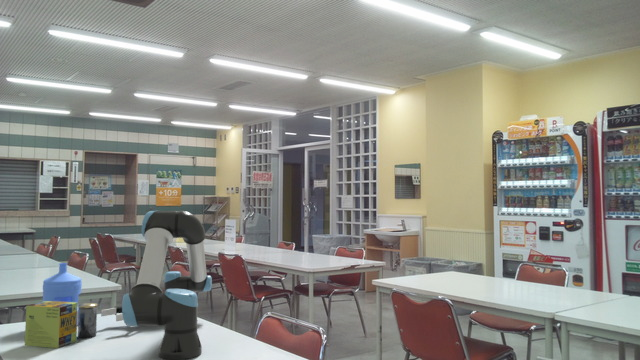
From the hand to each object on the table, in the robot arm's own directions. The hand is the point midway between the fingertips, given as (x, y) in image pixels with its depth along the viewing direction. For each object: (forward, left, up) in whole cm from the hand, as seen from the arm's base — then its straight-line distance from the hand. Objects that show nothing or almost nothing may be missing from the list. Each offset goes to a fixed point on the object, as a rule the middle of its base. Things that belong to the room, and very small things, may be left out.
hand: (108, 315), depth 213 cm
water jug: (+26, +9, -7) cm, 28 cm away
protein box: (0, +23, -7) cm, 24 cm away
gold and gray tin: (0, +9, -7) cm, 12 cm away
